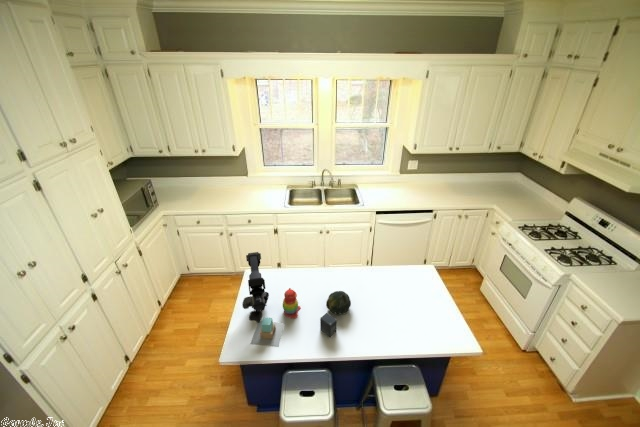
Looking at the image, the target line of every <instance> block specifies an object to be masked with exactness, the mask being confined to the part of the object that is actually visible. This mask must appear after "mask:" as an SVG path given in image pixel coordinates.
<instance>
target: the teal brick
mask: <svg viewBox="0 0 640 427" xmlns="http://www.w3.org/2000/svg"><path fill="white" fill-rule="evenodd" d="M261 321H262V323H261V327H262V332H271V330H272V327H273V322H274V321H273V317H267V316H266V317H265V316H262V319H261Z"/></svg>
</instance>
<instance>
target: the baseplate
mask: <svg viewBox="0 0 640 427" xmlns="http://www.w3.org/2000/svg"><path fill="white" fill-rule="evenodd" d="M261 323H262V320H261V321H260V323H257V325H256V327H255V329H254V330H255V331H254V332H253V336H252V338H251V340H250V345H256V346H257V345H258V346H266V347H267V346H268V347H275V348H279V346H280V343H281V341H282V340H281V339H282V336H283V332H284V328H285V324H286V323H285V322H278V321H277V322H274V321H273V324H275V327H276V329H275V333H274V336H273V339H267V338H260V331H261V328H262V327H261Z"/></svg>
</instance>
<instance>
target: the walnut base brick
mask: <svg viewBox="0 0 640 427" xmlns="http://www.w3.org/2000/svg"><path fill="white" fill-rule="evenodd" d="M275 329H276V327H275V324H273V327H272V330H271V332H262V328H261V331H260V338H267V339H273V336H274V333H275Z"/></svg>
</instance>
